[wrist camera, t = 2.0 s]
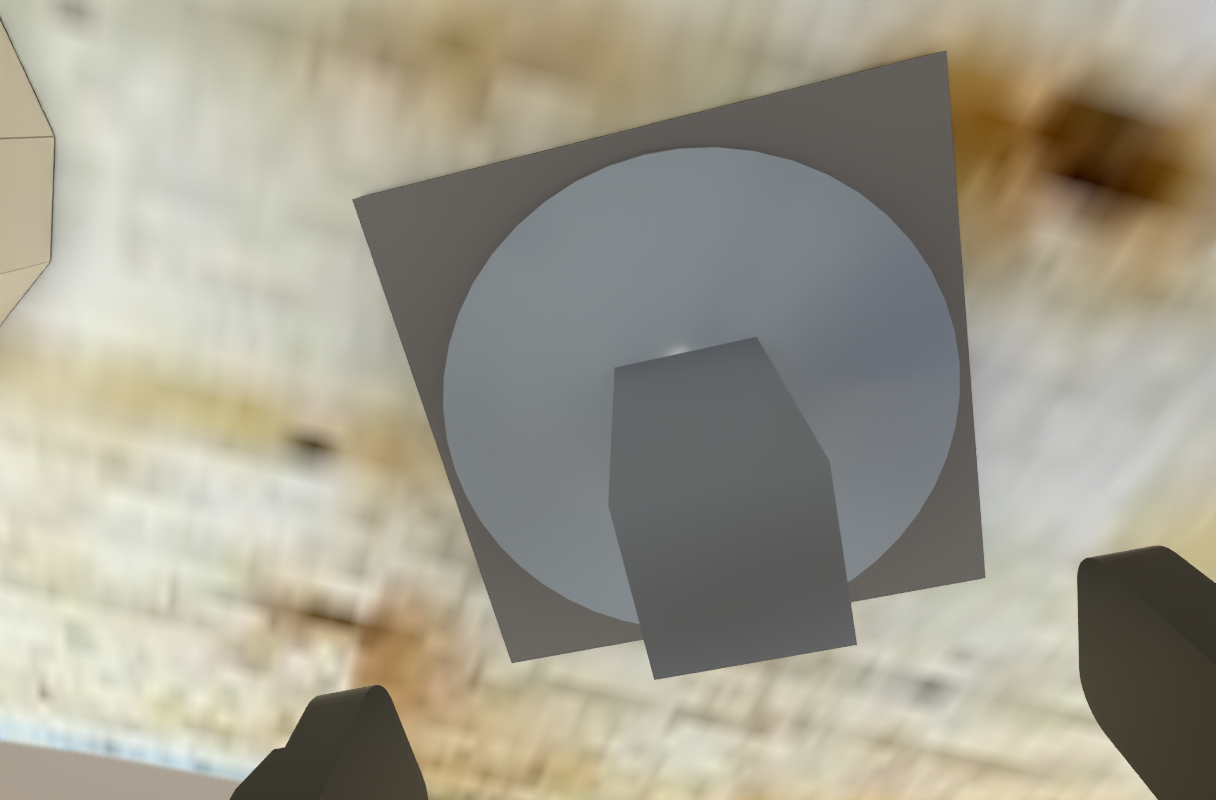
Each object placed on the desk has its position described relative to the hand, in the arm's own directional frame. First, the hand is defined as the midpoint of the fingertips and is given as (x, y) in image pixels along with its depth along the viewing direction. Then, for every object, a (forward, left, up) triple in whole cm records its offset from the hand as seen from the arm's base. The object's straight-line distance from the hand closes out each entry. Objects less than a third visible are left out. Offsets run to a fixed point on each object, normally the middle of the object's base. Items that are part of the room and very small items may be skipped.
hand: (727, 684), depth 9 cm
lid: (0, 0, -9) cm, 9 cm away
